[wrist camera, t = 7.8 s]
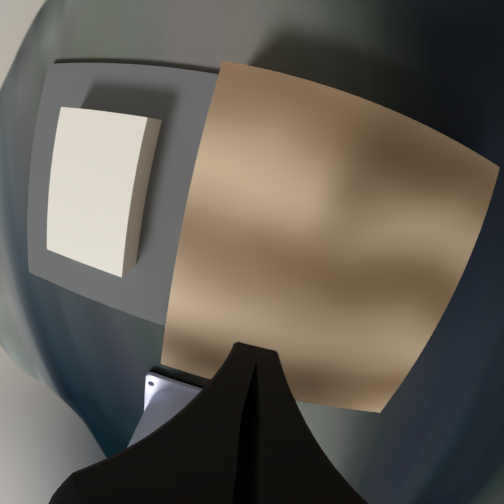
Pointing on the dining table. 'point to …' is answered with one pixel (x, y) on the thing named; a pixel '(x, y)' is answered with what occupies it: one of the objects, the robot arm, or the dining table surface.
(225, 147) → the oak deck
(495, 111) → the dining table surface
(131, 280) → the charcoal mat
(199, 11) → the dining table surface
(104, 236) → the cream tile
